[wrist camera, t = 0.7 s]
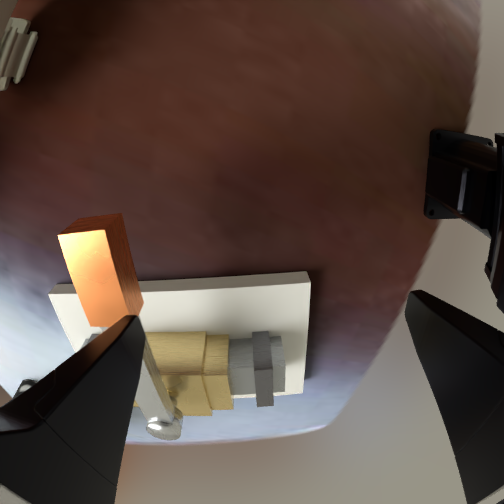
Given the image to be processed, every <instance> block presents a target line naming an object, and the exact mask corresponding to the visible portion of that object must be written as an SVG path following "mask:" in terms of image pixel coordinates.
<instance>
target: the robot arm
mask: <svg viewBox="0 0 504 504" xmlns="http://www.w3.org/2000/svg"><path fill="white" fill-rule="evenodd" d="M436 134H438V138H437V139H436ZM495 143H497V148H495V147H493V142H492V140H491V139H488V138H484V137H479V136H474V135H469V134H464V133H458V132H452V131H446V130H440V129H433V130H432V131H431V132H430V146H429V158H428V168H427V180H426V190H425V192H426V196H425V204H424V215H425V216H426V217H427V218H429V219H456V218H461V219H462V220H464V221H465V222H467V223H468V224H470V225H471V226H473V227H474V228H476V229H477V230H479V231H480V232H482V233H483V234H484V235H486V236H487V237H489V238H490V239H491V243H490V250H489V256H488V261H487V263H486V264H485V273H486V275H487V277H488V279H489V281H490V283H491V289H492V291H493V293H494V295H495V297H496V298H497V307H498V308H499V309H500V310H501V311H502V312H503V313H504V133H495ZM487 144H488V145H487ZM431 209H432V211H431V213H430V214H429V211H430V210H431ZM405 318H406V321H407V324H408V327H409V330H410V333H411V336H412V339H413V343H414V346H415V349H416V352H417V355H418V357H419V359H420V362H421V364H422V367H423V369H424V371H425V374H426V376H427V379H428V381H429V384H430V386H431V389H432V391H433V394H434V397H435V399H436V402H437V405H438V407H439V410H440V413H441V415H442V418H443V421H444V424H445V427H446V430H447V433H448V436H449V439H450V442H451V446H452V449H453V452H454V455H455V459H456V462H457V466H458V469H459V473H460V477H461V481H462V484H463V488H464V492H465V497H466V501H467V504H478V503H480V502H481V501H483V500H485V499H487V498H488V497H490V496H492V495H493V494H495V493H497V492H498V491H500V490H501V489H503V488H504V333H503V332H501V331H499V330H497V329H496V328H494V327H492V326H490V325H488V324H486V323H485V322H483V321H481V320H479V319H477V318H475V317H473V316H471V315H469V314H468V313H466V312H464V311H462V310H460V309H458V308H456V307H454V306H452V305H450V304H448V303H446V302H445V301H443V300H441V299H439V298H437V297H435V296H433V295H431V294H429V293H427V292H425V291H423V290H414V291H411V292H410V293H409V295H408V300H407V304H406V308H405ZM144 347H145V333H144V330H143V327H142V325H141V322H140V319H139V317H138V316H137V315H125V316H124V317H122V318H121V319H120V320H118V321H117V322H116V323H114V324H113V325H112V326H110V327H109V328H108V329H106V330H105V331H104V332H102V333H101V334H100V335H98V336H97V337H96V338H94V339H93V340H92V341H91V342H89V343H88V344H87V345H85V346H84V347H83V348H81V349H80V350H79V351H77V352H76V353H75V354H74V355H72V356H71V357H70V358H68V359H67V360H66V361H64V362H63V363H62V364H61V365H59V366H58V367H57V368H55V370H53V371H52V372H50V373H49V374H48V375H46V376H45V377H44V378H42V379H41V380H40V381H38V382H37V383H36V384H34V385H33V386H31V387H30V388H29V389H27V390H26V391H24V392H23V393H21V394H20V395H18V396H17V397H15V398H14V399H12V400H11V401H9V402H8V403H6V404H5V405H3V406H2V407H0V504H114V502H115V496H116V490H117V483H118V477H119V471H120V466H121V461H122V455H123V451H124V446H125V441H126V436H127V431H128V427H129V422H130V418H131V413H132V409H133V405H134V401H135V396H136V392H137V388H138V384H139V380H140V374H141V367H142V360H143V353H144ZM497 504H504V499H503V500H501V501H500V502H498V503H497Z"/></svg>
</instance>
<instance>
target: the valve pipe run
mask: <svg viewBox="0 0 504 504" xmlns="http://www.w3.org/2000/svg"><path fill="white" fill-rule="evenodd" d="M145 334H146V337H147V340H148V342H149V345H150V348H151V351H152V353H153V356H154V359H155V361H156V364H157V367H158V369H159V372H160V374H161V377H162V379H163V382H164V384H165V387H166V389H167V392H168V394H169V396H173V397H175V398H176V399H177V401H178V403H177V408H178V409H179V410H180V411H181V412H182V413H183V415H185V416H212V410H229V409H233V406H234V395H246V394H256V401H257V407H263V406H274V399H273V393H276V392H285V373H286V364H285V358H284V351H283V345H282V339H281V336H273V337H269V331H259V332H252V338H244V339H229V334H224V335H207V333H206V331H194V332H145ZM98 335H100V334H91V336H90V338H89V339H85V341H84V343H83V345H82V347H81V348H83V347H84V346H85V345H87V344H88V343H89V342H91V341H92V340H93V339H94V338H96V337H97V336H98ZM81 348H80V349H81ZM133 406H134V407H139V406H138V404H137V402H136V400H135V401H134V405H133Z"/></svg>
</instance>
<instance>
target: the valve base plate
mask: <svg viewBox="0 0 504 504" xmlns="http://www.w3.org/2000/svg"><path fill="white" fill-rule="evenodd" d="M138 283H139V287H140V290H141V294H142V297H143V301H144V304H143V307H142V309H141V311H140V314H139V316H140V319H141V322H142V325H143V328H144V331H145V332H194V331H206V333H207V335H224V334H229V339H244V338H252V332H259V331H269V337H273V336H281V339H282V345H283V351H284V358H285V364H286V373H285V392H276V393H273V396H278V395H289V394H299V393H303V383H304V372H305V361H306V349H307V336H308V322H309V306H310V288H311V282H310V279H309V276H308V274H307V271H302V272H289V273H275V274H260V275H245V276H229V277H212V278H195V279H176V280H156V281H138ZM48 295H49V297H50V300H51V302H52V304H53V307H54V309H55V311H56V314H57V316H58V318H59V320H60V322H61V325H62V327H63V329H64V331H65V333H66V335H67V337H68V339H69V341H70V343H71V345H72V347H73V349H74V351H75V353H76V352H77V351H79V350H80V348H81V347H82V345H83V343H84V341H85V339H89V338H90V336H91V334H101V333H102V330H101V328H100V327H90V324H89V322H88V319H87V317H86V315H85V312H84V310H83V307H82V305H81V302H80V300H79V297H78V294H77V292H76V289H75V286H74V284H56V285H55V286H54V288H53V289H52V290H51V291H50V292H49V294H48ZM250 397H256V394H246V395H234V398H250Z"/></svg>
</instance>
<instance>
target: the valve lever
mask: <svg viewBox="0 0 504 504" xmlns="http://www.w3.org/2000/svg"><path fill="white" fill-rule="evenodd" d="M58 237H59V241H60V244H61V247H62V251H63V254H64V257H65V260H66V263H67V266H68V269H69V272H70V275H71V278H72V281H73V284H74V286H75V289H76V292H77V294H78V297H79V300H80V302H81V305H82V307H83V310H84V312H85V315H86V317H87V319H88V322H89V324H90V327H100V328H101V330H102V332H104V331H105V330H106V329H108V328H109V327H110V326H112V325H113V324H114V323H116V322H117V321H118V320H120V319H121V318H122V317H124V316H125V315H137V316H138V317H139V319H140V316H139V314H140V311H141V309H142V307H143V304H144V301H143V297H142V294H141V290H140V287H139V283H138V279H137V276H136V272H135V268H134V264H133V260H132V256H131V252H130V248H129V244H128V239H127V235H126V230H125V226H124V221H123V216H122V213H118V214H110V215H102V216H94V217H87V218H80V219H77V220H76V221H75V222H74V223H72V224H71V225H70V226H69V227H67V228H66V229H65V230H64V231H62V232H61V233H60V234H59V235H58ZM140 322H141V319H140ZM141 325H142V322H141ZM142 327H143V325H142ZM143 330H144V328H143ZM144 333H145V331H144ZM135 400H136V402H137V404H138V406H139V408H140V409H141V411H142V413H143V415H144V416H145V418H146V420H147V421H148V423H147V427H146V429H147V431H148V433H150V434H151V435H152V436H154V437H157V438H159V439H163V440H176V439H178V438H180V435H181V428H182V421H183V413H182V412H181V411H180V410H179V409H178V408H177V403H178V401H177V399H176V398H175V397H173V396H169V394H168V392H167V389H166V387H165V384H164V382H163V379H162V377H161V374H160V372H159V369H158V367H157V364H156V361H155V359H154V356H153V353H152V351H151V348H150V345H149V342H148V340H147V337H146V334H145V347H144V353H143V360H142V367H141V374H140V380H139V384H138V388H137V392H136V396H135Z"/></svg>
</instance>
